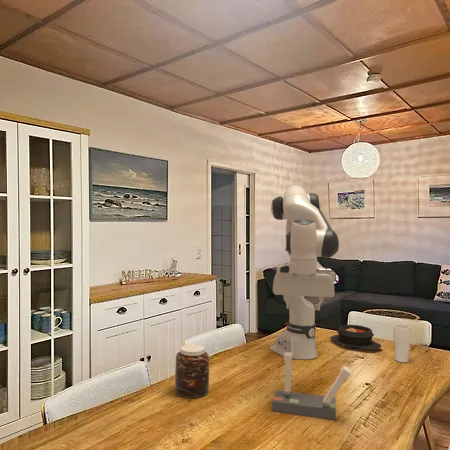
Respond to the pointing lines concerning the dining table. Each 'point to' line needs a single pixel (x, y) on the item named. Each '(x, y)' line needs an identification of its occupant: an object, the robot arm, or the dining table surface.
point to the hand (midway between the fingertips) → (303, 309)
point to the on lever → (336, 385)
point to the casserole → (356, 337)
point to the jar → (192, 372)
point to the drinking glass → (402, 342)
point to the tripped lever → (287, 373)
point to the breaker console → (303, 405)
